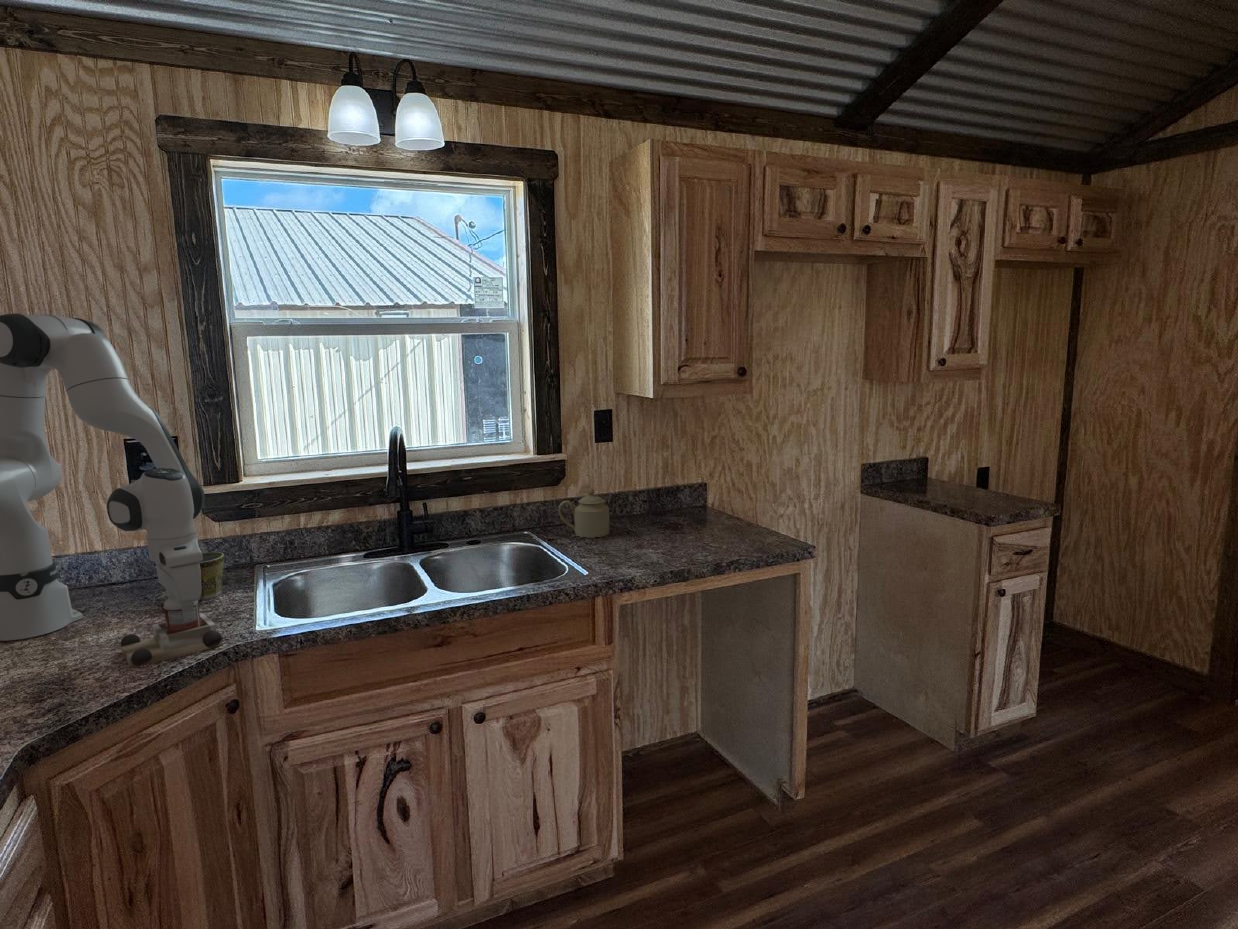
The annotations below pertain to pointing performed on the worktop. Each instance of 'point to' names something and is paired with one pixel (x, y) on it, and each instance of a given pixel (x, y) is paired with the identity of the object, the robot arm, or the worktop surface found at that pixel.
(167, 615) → the pill bottle
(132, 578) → the worktop surface
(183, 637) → the beige toy truck
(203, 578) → the ceramic cup
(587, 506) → the sugar bowl
